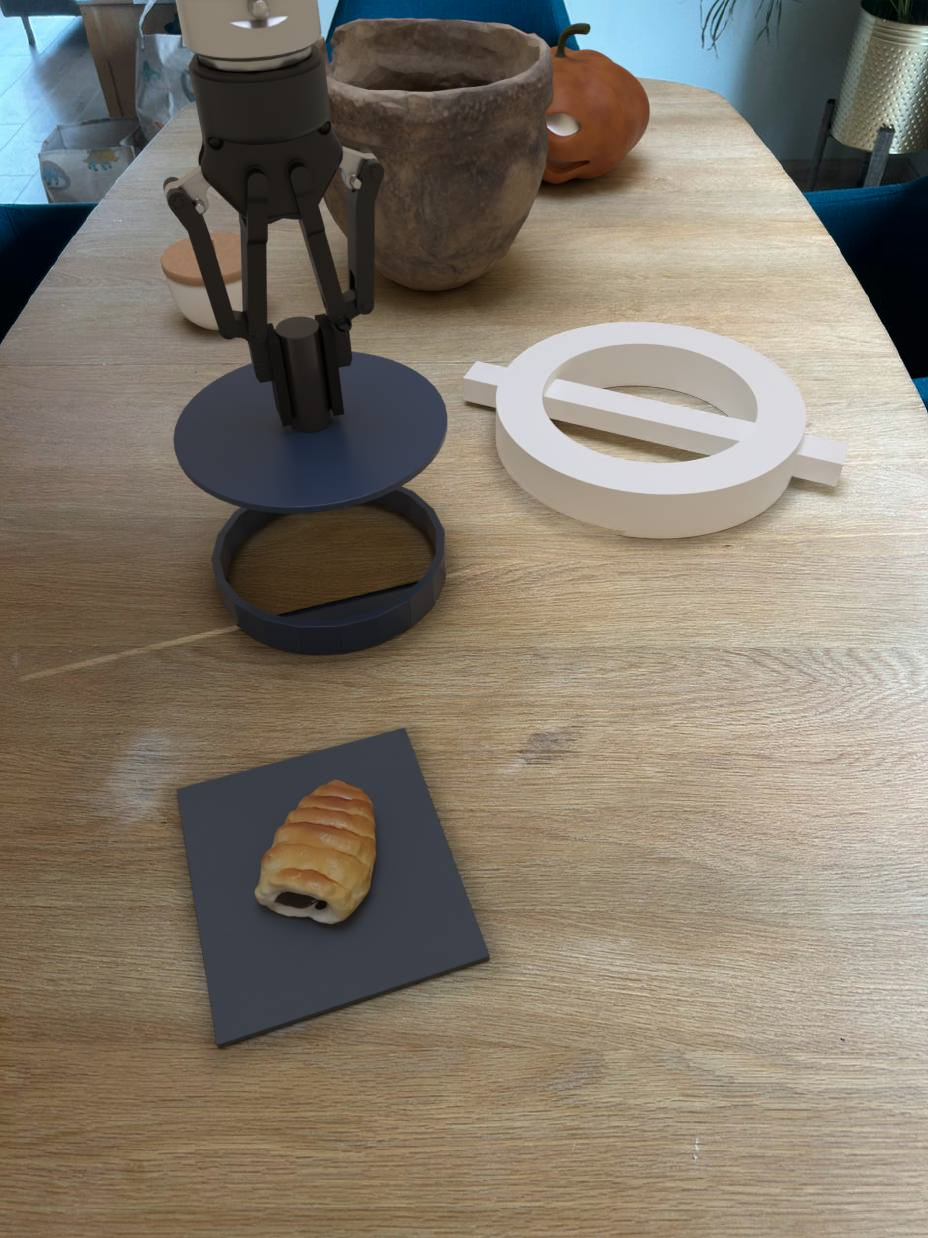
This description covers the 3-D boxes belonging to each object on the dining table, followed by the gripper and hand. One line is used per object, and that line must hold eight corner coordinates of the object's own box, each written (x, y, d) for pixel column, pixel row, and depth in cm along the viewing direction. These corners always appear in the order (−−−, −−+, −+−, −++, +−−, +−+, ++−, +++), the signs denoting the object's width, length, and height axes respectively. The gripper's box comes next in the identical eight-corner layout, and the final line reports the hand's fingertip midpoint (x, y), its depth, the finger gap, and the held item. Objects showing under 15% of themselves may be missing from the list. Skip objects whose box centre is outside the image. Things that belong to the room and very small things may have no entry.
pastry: (301, 788, 67) (294, 754, 64) (398, 805, 66) (395, 771, 63) (252, 915, 61) (241, 883, 58) (359, 936, 60) (353, 904, 57)
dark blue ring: (204, 527, 87) (197, 500, 85) (409, 483, 91) (407, 455, 89) (240, 680, 75) (233, 652, 72) (476, 621, 78) (475, 592, 76)
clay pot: (287, 316, 113) (250, 74, 95) (369, 221, 130) (351, 1, 112) (512, 349, 107) (517, 99, 89) (566, 245, 124) (580, 17, 106)
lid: (161, 390, 78) (133, 286, 72) (405, 344, 82) (398, 242, 76) (197, 548, 65) (166, 436, 59) (485, 484, 69) (484, 373, 63)
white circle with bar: (453, 397, 101) (452, 355, 97) (696, 341, 107) (703, 300, 104) (572, 572, 82) (576, 527, 79) (857, 492, 89) (872, 448, 86)
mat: (178, 793, 68) (176, 788, 67) (405, 731, 71) (404, 727, 71) (218, 1048, 55) (216, 1045, 55) (489, 960, 59) (489, 956, 59)
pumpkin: (430, 167, 142) (424, 17, 129) (553, 122, 154) (559, -20, 140) (556, 221, 129) (565, 60, 115) (680, 167, 140) (701, 15, 127)
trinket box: (158, 335, 110) (136, 254, 103) (205, 291, 117) (189, 211, 111) (244, 351, 108) (229, 268, 101) (288, 304, 115) (276, 224, 108)
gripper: (112, 88, 51) (205, 462, 68) (413, 51, 54) (431, 416, 71) (101, 46, 56) (190, 404, 73) (377, 14, 59) (402, 363, 76)
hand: (309, 409), depth 72 cm, fingers closed on lid, 3 cm apart
